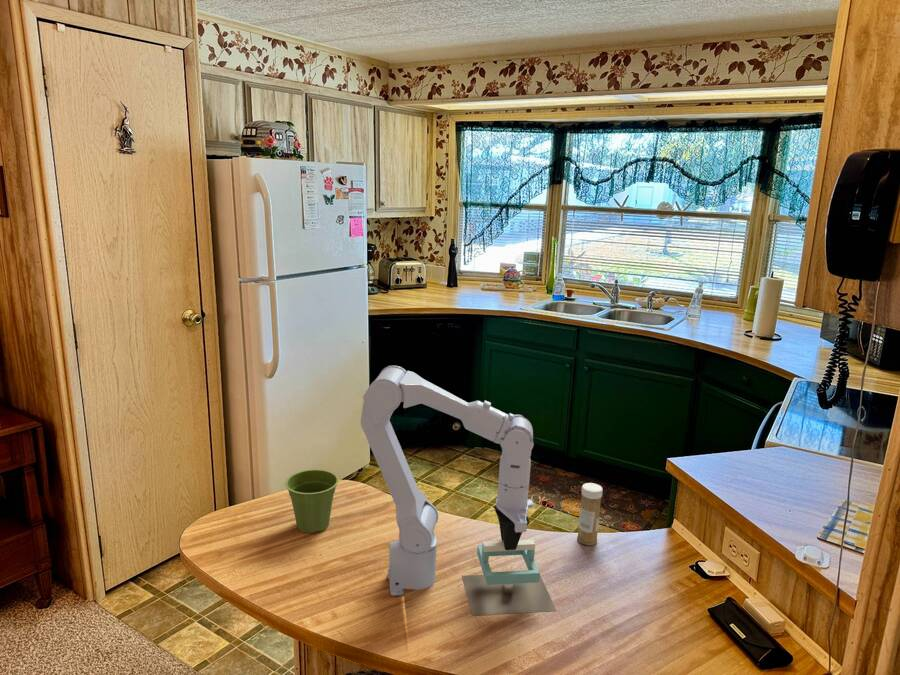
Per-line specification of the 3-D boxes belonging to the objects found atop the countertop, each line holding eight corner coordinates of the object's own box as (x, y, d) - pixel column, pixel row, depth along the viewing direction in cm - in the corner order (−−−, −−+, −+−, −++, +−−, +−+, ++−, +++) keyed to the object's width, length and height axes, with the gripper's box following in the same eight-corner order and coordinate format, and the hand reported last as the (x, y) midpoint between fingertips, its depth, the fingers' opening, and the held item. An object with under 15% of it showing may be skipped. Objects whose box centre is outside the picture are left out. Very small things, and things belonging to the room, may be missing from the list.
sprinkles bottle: (601, 542, 140) (607, 488, 137) (586, 548, 137) (592, 493, 134) (586, 533, 144) (592, 480, 140) (572, 538, 141) (577, 484, 138)
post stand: (472, 620, 113) (473, 601, 112) (461, 580, 124) (462, 562, 123) (556, 615, 115) (558, 596, 114) (538, 576, 127) (539, 558, 126)
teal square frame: (486, 585, 114) (488, 559, 113) (477, 553, 124) (478, 529, 122) (539, 582, 116) (541, 556, 114) (525, 551, 125) (527, 527, 124)
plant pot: (289, 512, 147) (289, 469, 144) (340, 511, 148) (340, 468, 145) (282, 540, 135) (281, 493, 133) (336, 539, 137) (336, 493, 134)
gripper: (545, 499, 109) (539, 567, 112) (524, 463, 123) (519, 524, 126) (506, 500, 108) (501, 569, 111) (490, 464, 122) (486, 526, 125)
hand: (508, 545), depth 118 cm, fingers closed on teal square frame
